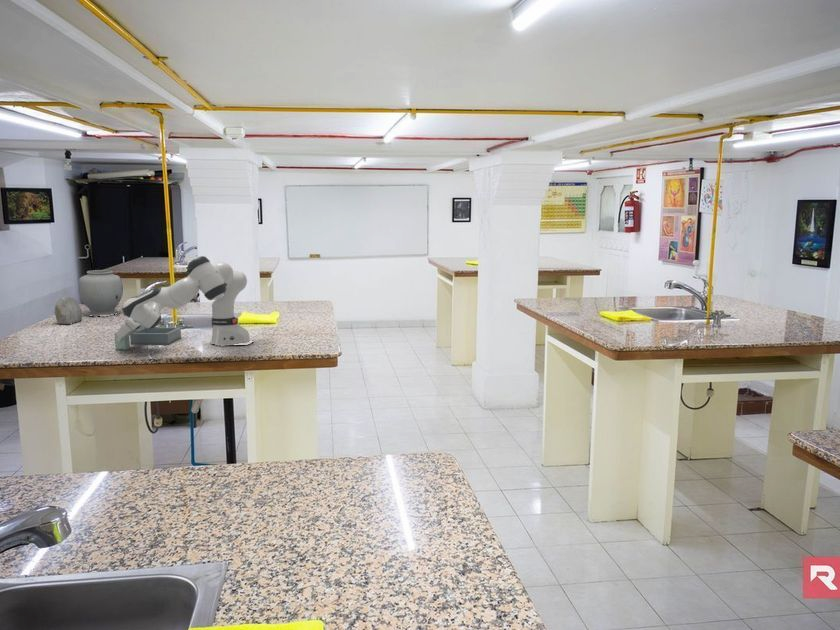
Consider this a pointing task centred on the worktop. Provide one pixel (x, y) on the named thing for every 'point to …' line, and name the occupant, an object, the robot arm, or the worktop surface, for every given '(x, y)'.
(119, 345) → the pale green block
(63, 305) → the decorative stone
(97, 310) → the grey ceramic vase
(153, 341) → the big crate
